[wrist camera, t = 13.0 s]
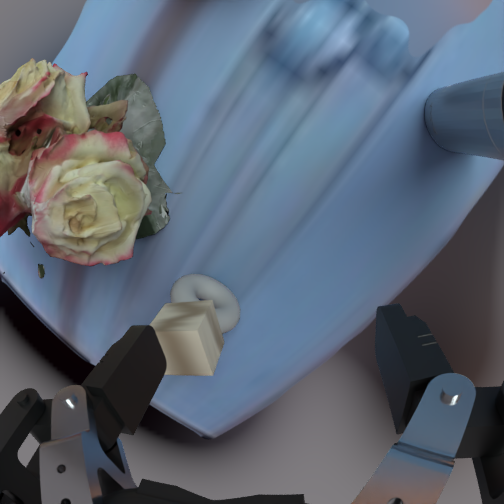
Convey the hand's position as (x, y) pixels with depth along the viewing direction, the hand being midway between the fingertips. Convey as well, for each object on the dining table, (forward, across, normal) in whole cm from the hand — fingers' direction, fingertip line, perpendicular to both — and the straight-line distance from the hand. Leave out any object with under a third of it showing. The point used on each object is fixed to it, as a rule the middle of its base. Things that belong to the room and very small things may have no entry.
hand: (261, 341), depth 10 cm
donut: (+30, +12, +12) cm, 35 cm away
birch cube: (+20, +12, +12) cm, 26 cm away
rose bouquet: (+30, +26, -11) cm, 41 cm away
